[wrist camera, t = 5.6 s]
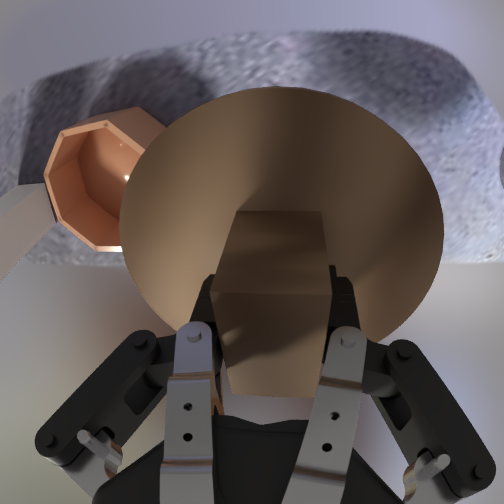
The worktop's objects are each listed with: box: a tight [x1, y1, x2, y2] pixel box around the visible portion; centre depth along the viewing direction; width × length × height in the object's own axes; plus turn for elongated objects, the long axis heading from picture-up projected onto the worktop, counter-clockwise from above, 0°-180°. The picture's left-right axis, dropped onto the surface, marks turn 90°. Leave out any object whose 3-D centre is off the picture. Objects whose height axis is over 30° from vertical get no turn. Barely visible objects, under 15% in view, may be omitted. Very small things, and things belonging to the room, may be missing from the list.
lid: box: [119, 86, 444, 398], centre depth 13 cm, size 16×16×6 cm
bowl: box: [43, 106, 166, 252], centre depth 27 cm, size 13×13×6 cm
